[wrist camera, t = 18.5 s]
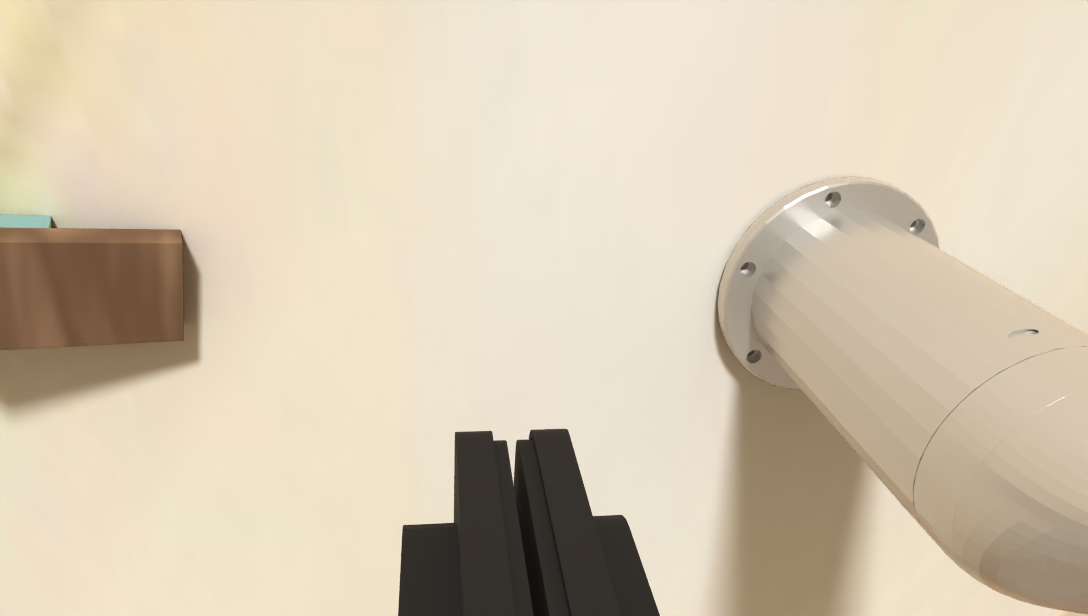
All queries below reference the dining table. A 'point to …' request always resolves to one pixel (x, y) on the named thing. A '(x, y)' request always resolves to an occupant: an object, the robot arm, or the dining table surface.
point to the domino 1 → (25, 221)
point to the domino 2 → (89, 287)
